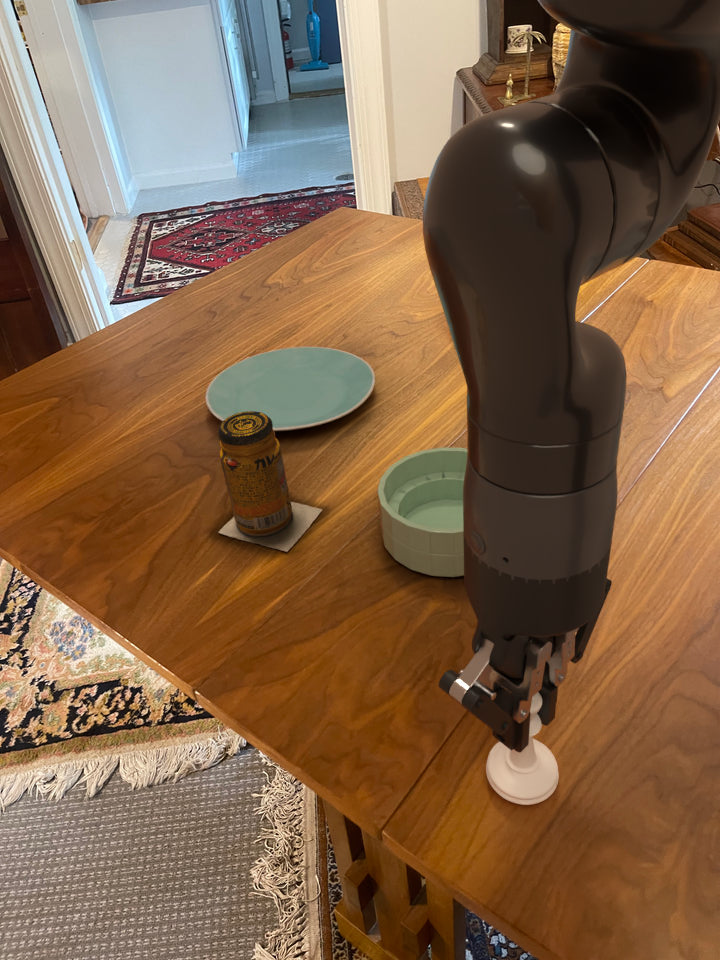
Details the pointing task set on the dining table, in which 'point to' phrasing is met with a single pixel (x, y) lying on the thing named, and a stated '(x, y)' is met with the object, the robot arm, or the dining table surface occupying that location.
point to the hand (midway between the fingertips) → (524, 727)
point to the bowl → (425, 511)
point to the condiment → (259, 484)
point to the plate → (293, 386)
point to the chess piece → (524, 766)
